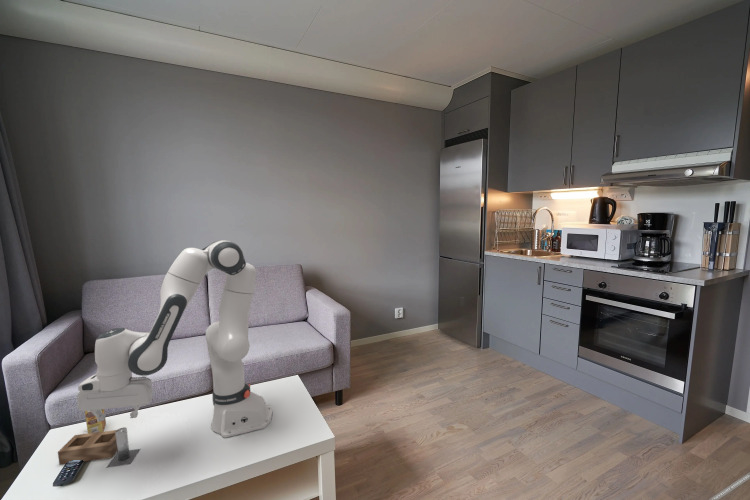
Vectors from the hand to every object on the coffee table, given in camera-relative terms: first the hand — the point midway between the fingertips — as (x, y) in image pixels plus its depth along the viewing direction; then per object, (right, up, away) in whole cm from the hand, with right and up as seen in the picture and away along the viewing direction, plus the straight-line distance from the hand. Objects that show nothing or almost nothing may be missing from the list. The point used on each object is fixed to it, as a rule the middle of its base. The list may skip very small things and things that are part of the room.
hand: (117, 418), depth 106 cm
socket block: (-12, -14, +5) cm, 19 cm away
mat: (0, -15, +2) cm, 15 cm away
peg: (0, -14, +2) cm, 14 cm away
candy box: (-20, -13, +15) cm, 28 cm away
